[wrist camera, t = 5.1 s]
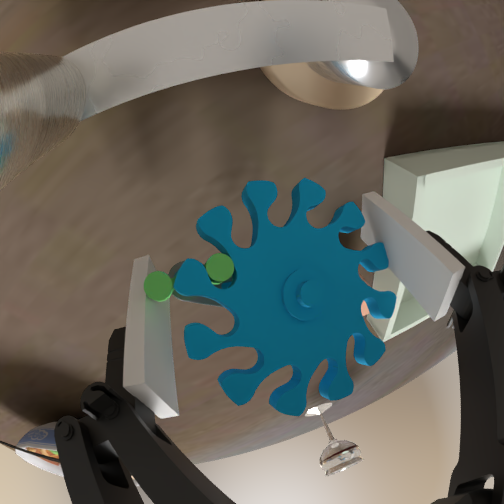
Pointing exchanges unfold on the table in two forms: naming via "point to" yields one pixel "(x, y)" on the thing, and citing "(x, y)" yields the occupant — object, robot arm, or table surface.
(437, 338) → the table surface
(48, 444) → the ramen bowl
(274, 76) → the crank pedestal
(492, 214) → the tray
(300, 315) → the gear
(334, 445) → the wineglass
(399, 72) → the crank
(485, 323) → the robot arm
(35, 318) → the table surface
